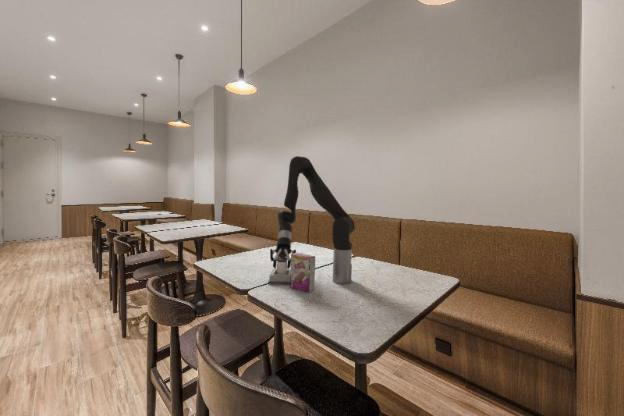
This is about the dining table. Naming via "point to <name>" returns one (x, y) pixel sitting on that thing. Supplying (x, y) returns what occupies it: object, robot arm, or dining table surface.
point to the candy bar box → (302, 272)
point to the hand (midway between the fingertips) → (281, 268)
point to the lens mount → (279, 277)
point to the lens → (282, 265)
